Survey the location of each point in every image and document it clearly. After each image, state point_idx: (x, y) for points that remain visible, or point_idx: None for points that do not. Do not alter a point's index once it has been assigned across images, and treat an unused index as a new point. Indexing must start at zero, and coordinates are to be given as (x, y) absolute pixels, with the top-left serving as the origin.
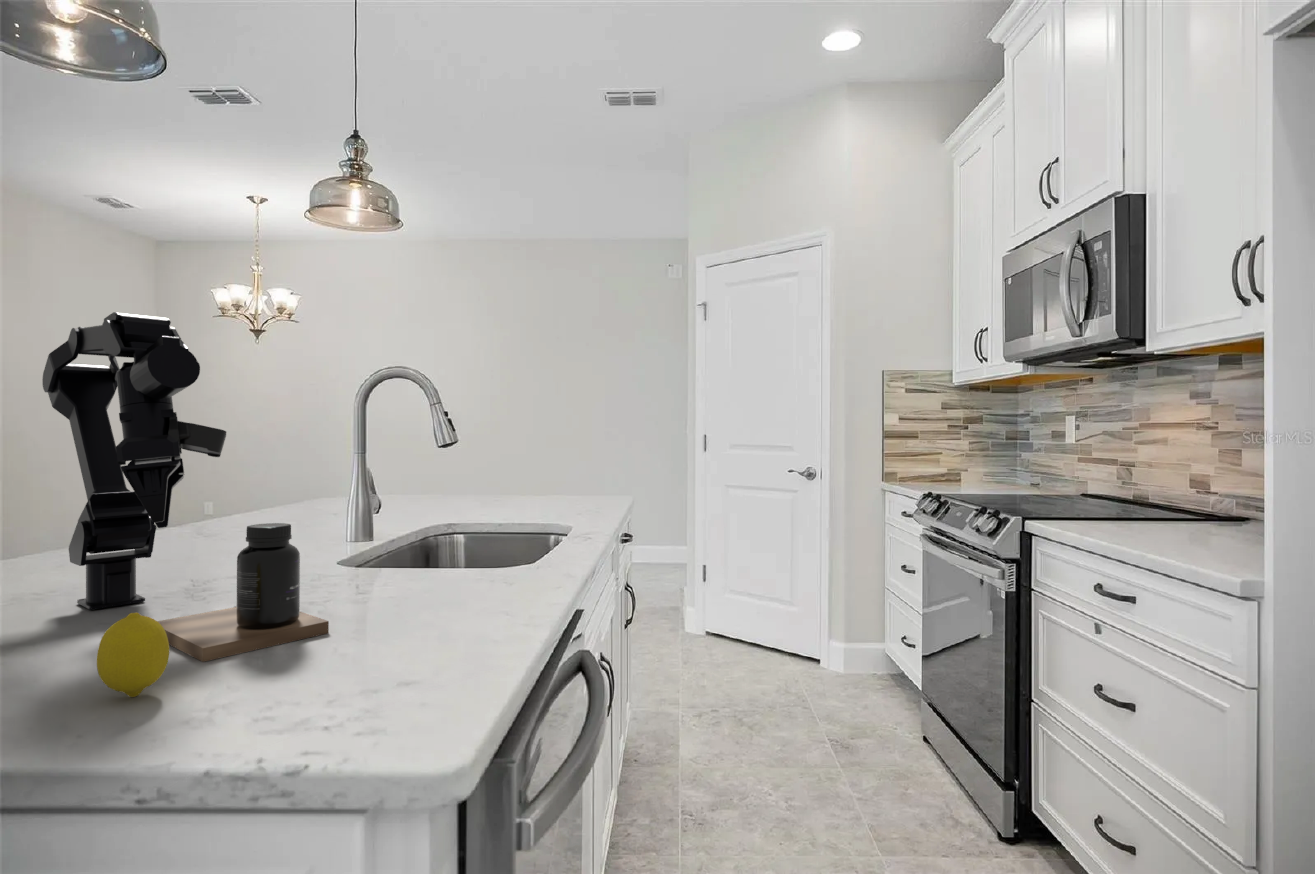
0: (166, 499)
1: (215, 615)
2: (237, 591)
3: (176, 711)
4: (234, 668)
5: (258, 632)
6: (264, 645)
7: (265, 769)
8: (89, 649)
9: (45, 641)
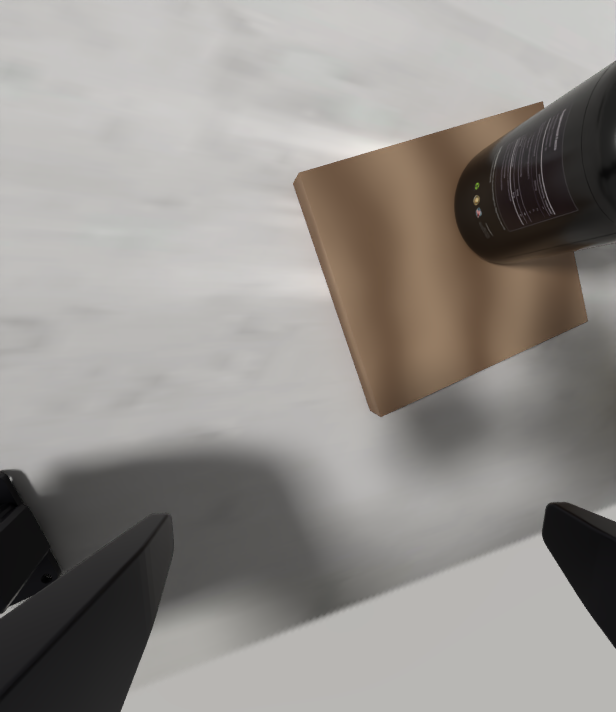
0: (52, 682)
1: (386, 299)
2: (572, 251)
3: None
4: (611, 281)
5: None
6: None
7: None
8: (414, 487)
9: (322, 572)
